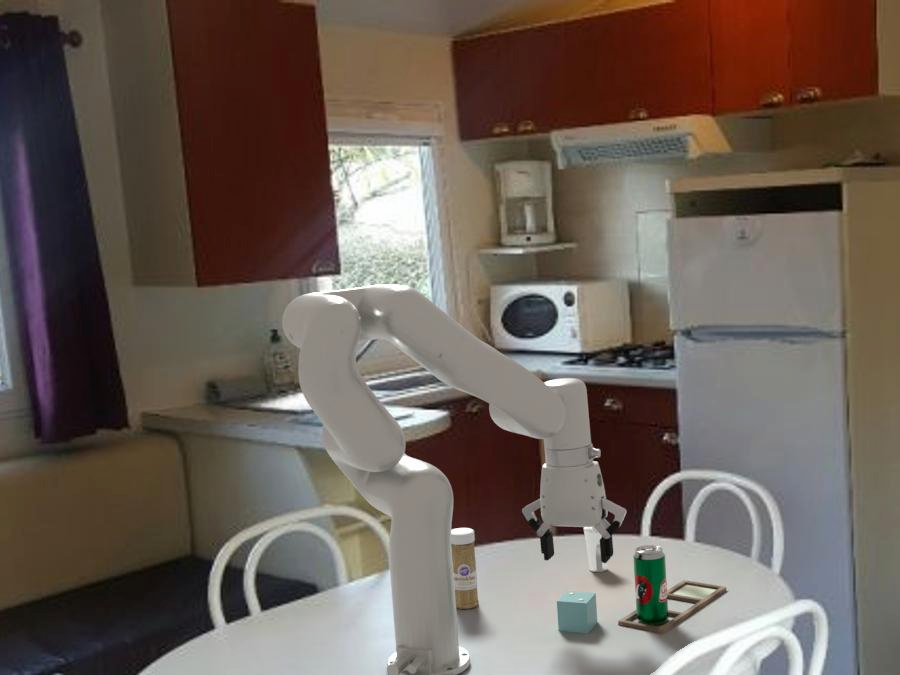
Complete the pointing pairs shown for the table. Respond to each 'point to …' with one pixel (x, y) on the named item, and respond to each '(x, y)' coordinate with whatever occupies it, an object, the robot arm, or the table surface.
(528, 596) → the table surface
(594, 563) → the milkshake
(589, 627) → the die
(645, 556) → the soda can
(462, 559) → the sprinkles bottle
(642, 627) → the wooden frame
